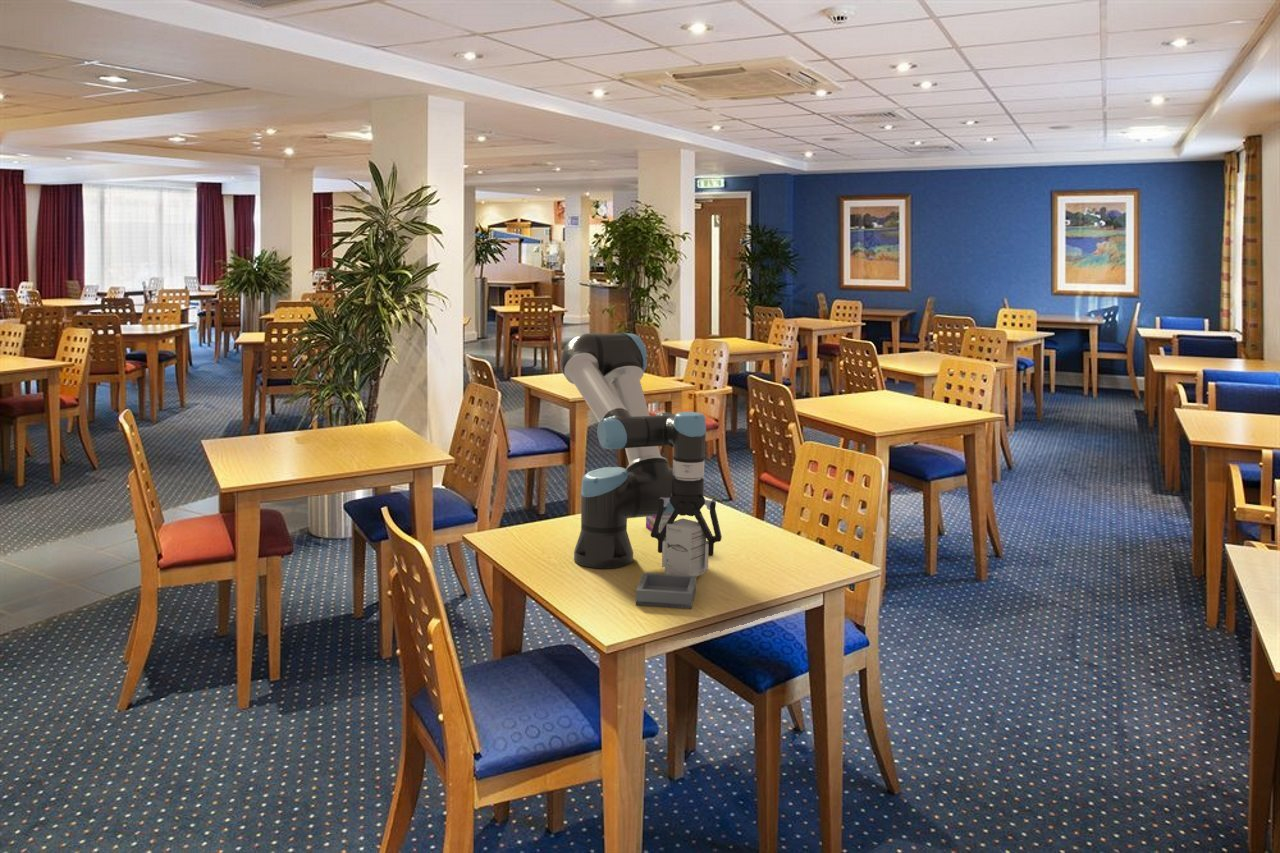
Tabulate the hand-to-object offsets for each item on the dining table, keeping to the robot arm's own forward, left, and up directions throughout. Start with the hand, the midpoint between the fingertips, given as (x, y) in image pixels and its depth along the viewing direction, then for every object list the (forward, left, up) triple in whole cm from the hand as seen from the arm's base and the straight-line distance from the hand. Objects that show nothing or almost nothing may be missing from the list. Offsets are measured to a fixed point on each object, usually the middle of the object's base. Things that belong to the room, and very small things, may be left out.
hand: (685, 566), depth 228 cm
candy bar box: (-11, +39, -3) cm, 40 cm away
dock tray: (-3, -15, -3) cm, 16 cm away
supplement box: (0, 0, -2) cm, 2 cm away
